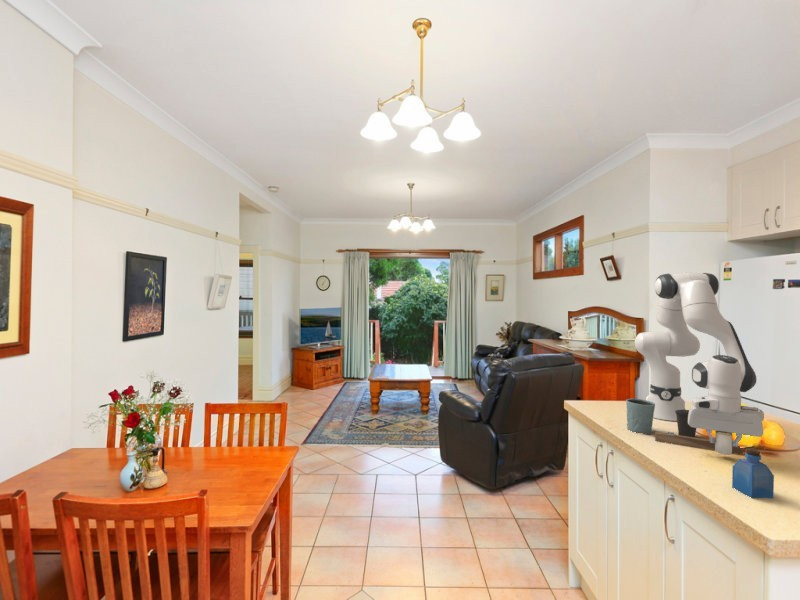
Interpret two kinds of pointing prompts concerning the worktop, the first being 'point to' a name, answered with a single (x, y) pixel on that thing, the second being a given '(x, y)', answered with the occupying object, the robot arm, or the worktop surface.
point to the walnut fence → (691, 442)
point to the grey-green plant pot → (640, 415)
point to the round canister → (723, 442)
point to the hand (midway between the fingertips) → (723, 444)
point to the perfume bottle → (753, 476)
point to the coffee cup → (684, 424)
